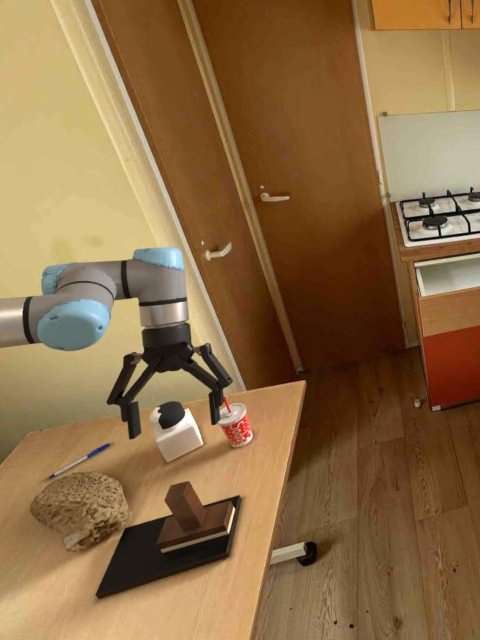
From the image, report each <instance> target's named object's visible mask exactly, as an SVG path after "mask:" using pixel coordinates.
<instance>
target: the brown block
mask: <svg viewBox="0 0 480 640" xmlns="http://www.w3.org/2000/svg"><path fill="white" fill-rule="evenodd" d="M164 503H165V504H166V505H167V507H168V509H169V510H170V512H171V515H172V514H173V515H174V516H172V517H168V518H166V521H165V523H164V526H163V528H162V531H161V533H160V536H159V538H158V541H157V543H156V544H157V546H158V547H159V549H160V550H161V552H162V553H164V552H167V551H171V550H174V549H178V548H181V547H185V546H188V545H191V544H195V543H198V542H202V541H205V540H209V539H212V538H216V537H219V536H223V535H226V534H229V531H230V527H231V524H232V520H233V516H234V512H235V508H234V506H233V504H232V502H231V501H227V502H224V503H220V504H216V505H213V506H209V507H205V508H204V507H203V505H204V504H203V503H202V501H201V499H200V497H199V496H198V494H197V492H196V490H195V489H194V487H193V485H192V482H190V480H187V481H182V482H178V483H175V484H171V485H169V488H168V490H167V492H166V495H165V497H164Z"/></svg>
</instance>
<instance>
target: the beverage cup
mask: <svg viewBox="0 0 480 640" xmlns="http://www.w3.org/2000/svg"><path fill="white" fill-rule="evenodd" d="M224 404H225V407H223V408H221V409H220V421H219V422H218V423H217V424H216V425H218V426H219V427H220V428H221V430H222V432H223V433H224V435H225V437H226V439H227V440H228V443H229V444H230V446H231V447H233V448H241V447H244V446H245V445H247V444H249V443H250V442H251V441H252V439H253V432H252V429H251V425H250V421H249V418H248V415H247V407H246V405H245V404H244V403H239V402H237V403H231V404H229V403H228V401H227V398H226V396H224Z"/></svg>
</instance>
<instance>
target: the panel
mask: <svg viewBox="0 0 480 640" xmlns="http://www.w3.org/2000/svg"><path fill="white" fill-rule="evenodd" d="M242 500H243V498H242V496H241V495H240V494H238V495H235V496H231V497H227V498H224V499H221V500H217V501H214V502H211V503H206V504H202V505H203V507H204V508H205V507H209V506H213V505H216V504H220V503H224V502H227V501H231V502H232V504H233V506H234V508H235V512H234V516H233V520H232V524H231V527H230V531H229V534H226V535H223V536H219V537H216V538H212V539H209V540H205V541H202V542H198V543H195V544H191V545H188V546H185V547H181V548H178V549H174V550H171V551H167V552H164V553H162V552H161V550H160V549H159V547H158V546H157V544H156V543H157V541H158V538H159V536H160V533H161V531H162V528H163V526H164V523H165V521H166V518H168V517H172V516H174V515H173V514H172V513H171V514H169V515H165V516H161V517H158V518H155V519H151V520H148V521H144V522H141V523H137V524H133V525H130V526H127V527H124V529H123V532H122V534H121V535H120V538H119V540H118V543H117V545H116V547H115V548H114V551H113V554H112V556H111V558H110V560H109V563H108V565H107V567H106V570H105V572H104V573H103V576H102V578H101V581H100V583H99V584H98V588H97V589H96V592H95V594H94V596H95V597H96V598H97V599H98V600H101V599H105V598H108V597H111V596H114V595H117V594H120V593H123V592H126V591H129V590H132V589H135V588H139V587H142V586H145V585H148V584H150V583H153V582H158V581H160V580H164V579H166V578H169V577H173V576H176V575H179V574H182V573H186V572H188V571H191V570H194V569H196V568H200V567H203V566H206V565H209V564H212V563H216V562H219V561H222V560H224V559H225V560H226V559H227V558H230V555H231V551H232V545H233V540H234V538H235V537H234V536H235V533H236V532H235V531H236V527H237V523H238V519H239V514H240V510H241V504H242Z"/></svg>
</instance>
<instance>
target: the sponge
mask: <svg viewBox="0 0 480 640" xmlns="http://www.w3.org/2000/svg"><path fill="white" fill-rule="evenodd" d="M29 512H30V513H31V515H32V517H33V518H34V519H35V520H36V521H37V522H39V524H41V525H42V526H45V527H47V528H49V529H51V531H52V532H55V533H56V534H60V538H59V539H60V541H61V544H62V546H63V547H64V549H65V550H66V552H67V553H70V552H71V553H76V552H79V551H80V552H81V551H84V550H86V549H87V547H90V546H92V545H94V544H96V543H98V542H100V541H101V539H102V540H103V539H104V537H105V535H106V536H108V535H109V536H110V535H112V534H116V533H119V532H120V531H121V530H122V529H123V528H124V527H125V525H126V524H127V522H126V521H127V519H128V517H129V504H128V502H127V500H126V497H125V494H124V490H123V486H122V484H121V483H120V481H119V480H118V479H114V478H113V477H110V476H108V475H106V474H102V473H100V472H97V471H95V470H89V471H78V472H72V473H71V474H69V475H68V474H67V475H63V476H61V477H59V478H57V479H54V480H53V481H52V482H50V483H48V484H47V485H46V486H45V487H44V489H42V490H41V492H39V493H37V494H36V495H35V497H34V498H33V501H31V503H30V504H29Z"/></svg>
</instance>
